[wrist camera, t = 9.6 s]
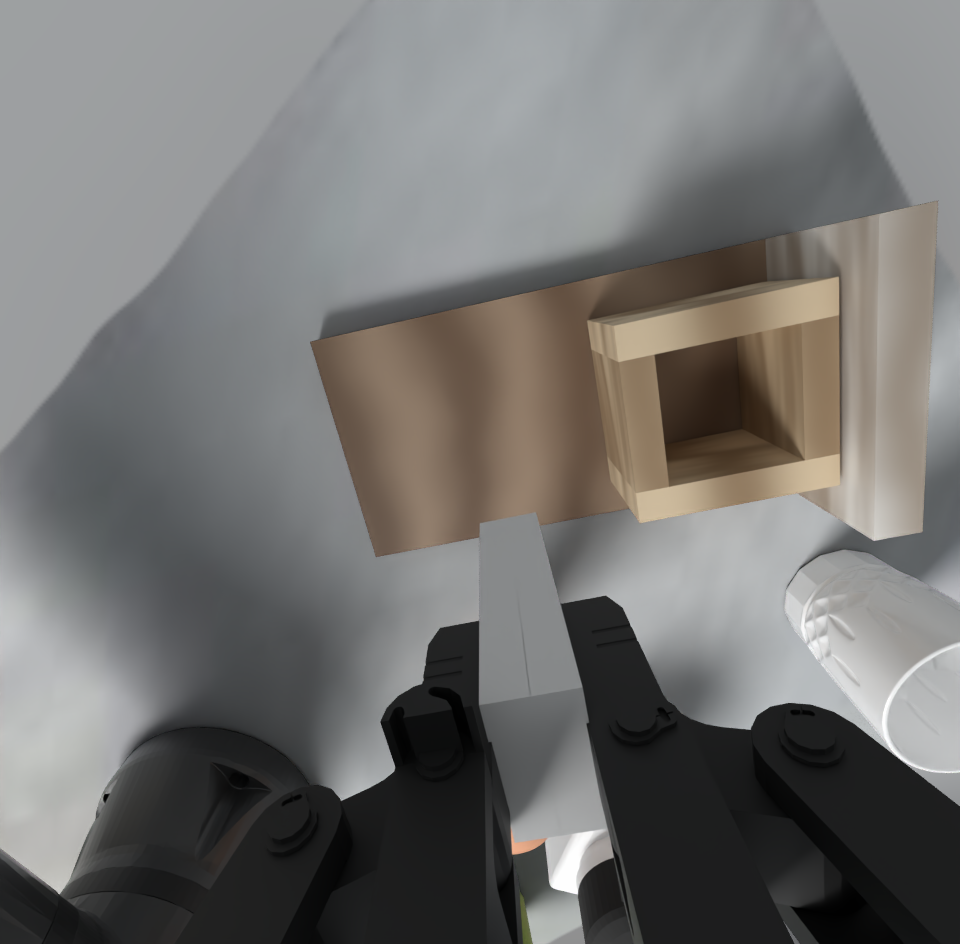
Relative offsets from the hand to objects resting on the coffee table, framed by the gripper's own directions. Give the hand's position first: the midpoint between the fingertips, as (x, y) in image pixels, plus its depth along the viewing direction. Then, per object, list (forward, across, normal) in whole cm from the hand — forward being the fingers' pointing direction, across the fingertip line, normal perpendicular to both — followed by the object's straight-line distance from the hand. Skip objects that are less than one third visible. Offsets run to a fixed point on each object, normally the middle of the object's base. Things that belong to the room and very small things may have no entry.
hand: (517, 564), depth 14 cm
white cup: (+18, +19, -16) cm, 31 cm away
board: (+18, +4, 0) cm, 18 cm away
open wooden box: (+16, +10, 0) cm, 19 cm away
